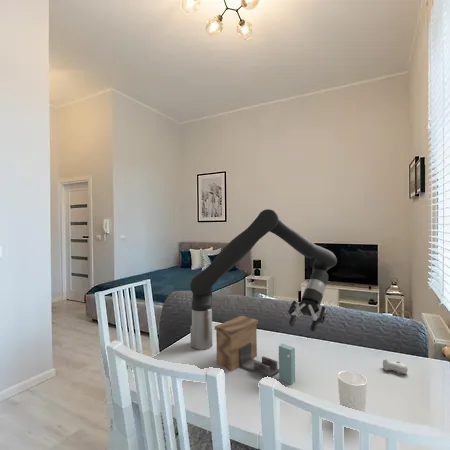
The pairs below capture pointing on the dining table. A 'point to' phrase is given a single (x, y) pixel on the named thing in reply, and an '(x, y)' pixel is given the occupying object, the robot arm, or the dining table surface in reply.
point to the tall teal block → (287, 363)
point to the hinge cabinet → (241, 347)
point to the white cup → (352, 390)
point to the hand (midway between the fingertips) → (301, 328)
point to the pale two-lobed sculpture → (395, 366)
